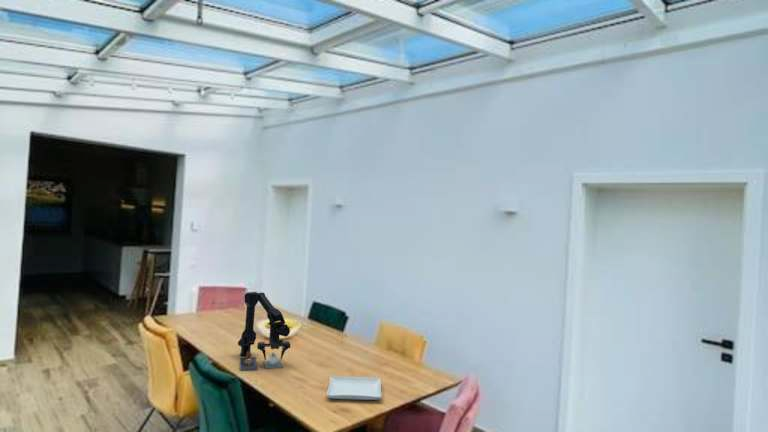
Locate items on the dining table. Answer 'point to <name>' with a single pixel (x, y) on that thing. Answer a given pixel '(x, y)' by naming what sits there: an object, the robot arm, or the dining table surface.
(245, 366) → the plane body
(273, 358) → the lever cap
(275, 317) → the robot arm
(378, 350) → the dining table surface
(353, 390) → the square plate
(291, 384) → the dining table surface
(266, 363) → the rest mat
